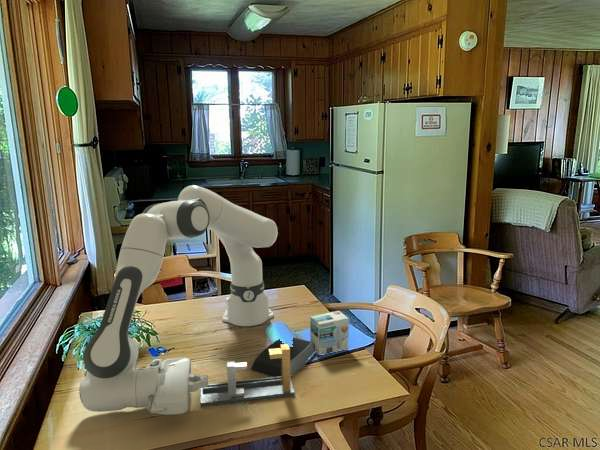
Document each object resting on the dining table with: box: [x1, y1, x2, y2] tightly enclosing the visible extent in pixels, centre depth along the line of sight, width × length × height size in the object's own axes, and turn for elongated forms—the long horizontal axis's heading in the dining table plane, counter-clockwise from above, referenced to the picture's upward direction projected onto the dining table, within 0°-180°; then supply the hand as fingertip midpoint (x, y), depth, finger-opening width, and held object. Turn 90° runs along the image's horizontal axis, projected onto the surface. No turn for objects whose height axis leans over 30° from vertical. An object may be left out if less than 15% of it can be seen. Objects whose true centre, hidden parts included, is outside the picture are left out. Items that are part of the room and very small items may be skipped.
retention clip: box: [226, 361, 248, 398], centre depth 116 cm, size 2×5×9 cm, turn 101°
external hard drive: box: [250, 336, 315, 378], centre depth 135 cm, size 13×19×4 cm
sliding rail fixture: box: [199, 344, 296, 408], centre depth 117 cm, size 7×24×13 cm, turn 101°
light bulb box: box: [309, 310, 350, 355], centre depth 141 cm, size 11×7×11 cm, turn 114°
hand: (208, 381), depth 114 cm, fingers closed
